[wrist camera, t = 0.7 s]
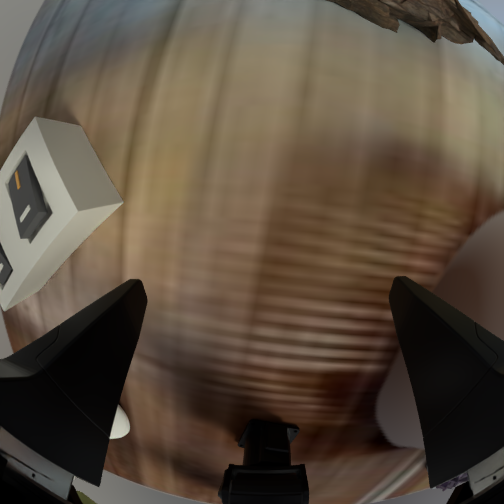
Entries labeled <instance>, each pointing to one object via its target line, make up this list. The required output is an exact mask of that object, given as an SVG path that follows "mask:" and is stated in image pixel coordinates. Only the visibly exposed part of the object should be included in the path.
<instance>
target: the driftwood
mask: <svg viewBox="0 0 504 504" xmlns="http://www.w3.org/2000/svg"><path fill="white" fill-rule="evenodd" d="M327 1H331V2H336V3H338V4H340V5H341V6H343V7H345V8H346V9H349V10H352V11H355V12H356V13H358V14H359V15H360V16H362V17H363V18H365V19H367V20H369V21H371V22H373V23H375V24H377V25H379V26H380V27H382V28H386V29H390V30H392V31H394V32H397V31H396V30H398V27H399V22H398V20H397V19H400V20H402V21H404V22H406V23H408V24H410V25H412V26H414V27H416V28H417V29H419V30H420V31H422V32H423V33H424V34H425V35H426V36H427V37H428V38H430V39H431V40H432V41H433V42H435V41H436V40H437V39H441V35H442V36H443V37H445V38H447V39H448V40H450V41H451V42H454V43H457V44H464V43H472V42H473V39H474V38H475V40H476V41H477V42H478V43H479V44H480V45H481V46H482V47H483V48H485V49H486V50H487V51H488V52H490V53H491V54H492V55H493V56H494V57H495V59H496V60H498V61H500V62H501V63H502V64H503V65H504V56H503V55H502V54H501V52H500V51H499V50H498V48H497V47H496V45H495V44H494V42H493V41H492V39H491V38H490V37H489V36H488V35H487V34H486V33H485V32H484V30H483V29H482V28H481V27H480V26H479V25H478V21H477V20H476V19H474V18H473V17H472V15H471V13H470V12H469V11H468V10H466V9H465V8H464V7H462V6H461V4H460V3H459V1H458V0H327Z"/></svg>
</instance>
